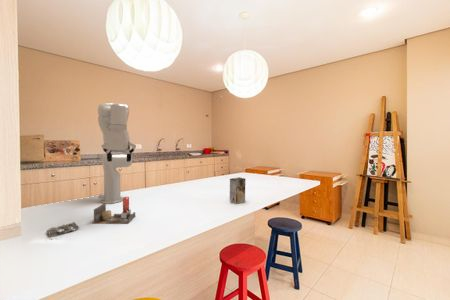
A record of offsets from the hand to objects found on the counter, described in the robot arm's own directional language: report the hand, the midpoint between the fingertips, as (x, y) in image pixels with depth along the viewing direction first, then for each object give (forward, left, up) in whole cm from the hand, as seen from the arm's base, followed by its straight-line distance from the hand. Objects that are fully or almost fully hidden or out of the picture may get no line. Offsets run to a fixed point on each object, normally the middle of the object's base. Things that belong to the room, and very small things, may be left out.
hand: (119, 161), depth 110 cm
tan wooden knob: (-4, -6, -29) cm, 30 cm away
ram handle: (+6, -6, -28) cm, 30 cm away
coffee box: (+65, +30, -30) cm, 78 cm away
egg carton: (-16, -19, -31) cm, 39 cm away
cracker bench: (0, -6, -30) cm, 31 cm away
